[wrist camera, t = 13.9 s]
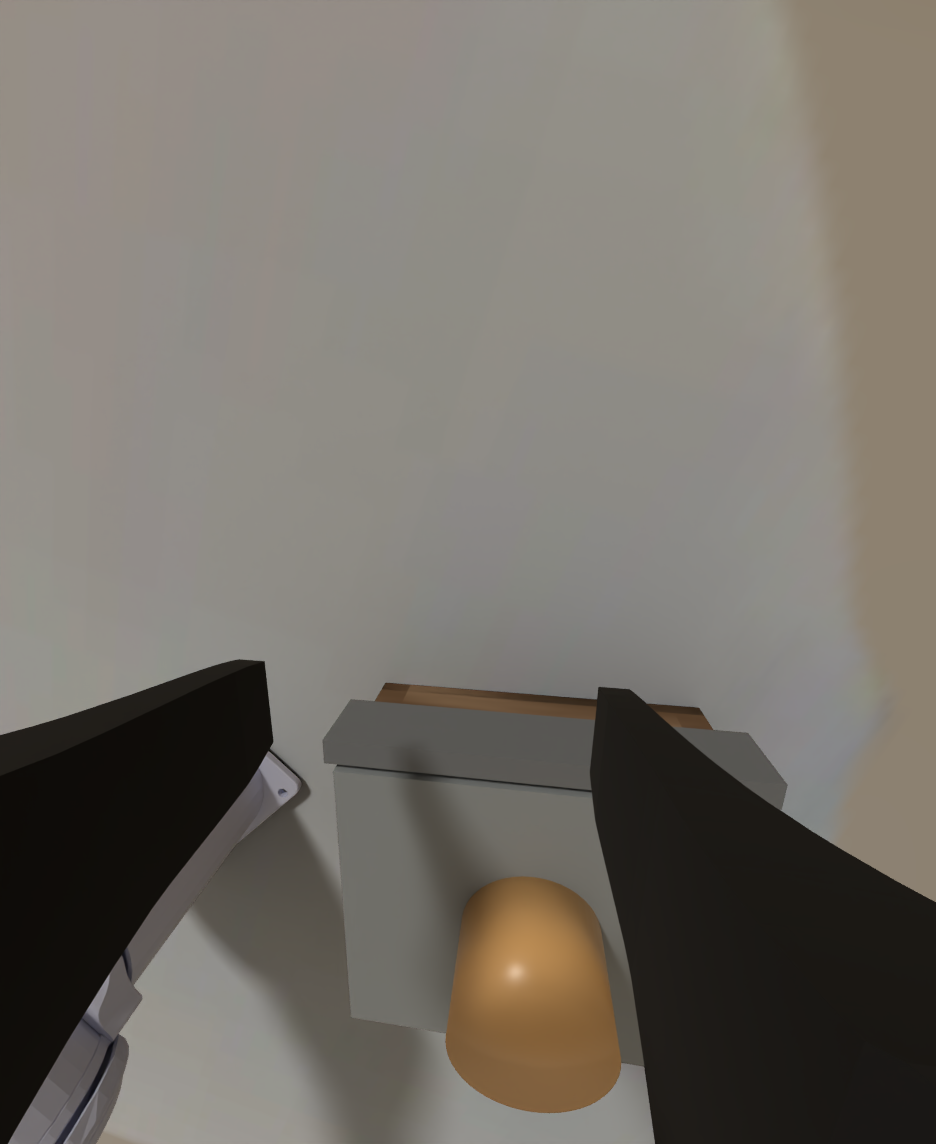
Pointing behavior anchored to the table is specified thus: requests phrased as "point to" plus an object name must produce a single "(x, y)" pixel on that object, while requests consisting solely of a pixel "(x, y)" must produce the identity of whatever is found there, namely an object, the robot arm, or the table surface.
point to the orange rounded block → (532, 999)
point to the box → (524, 704)
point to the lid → (473, 840)
